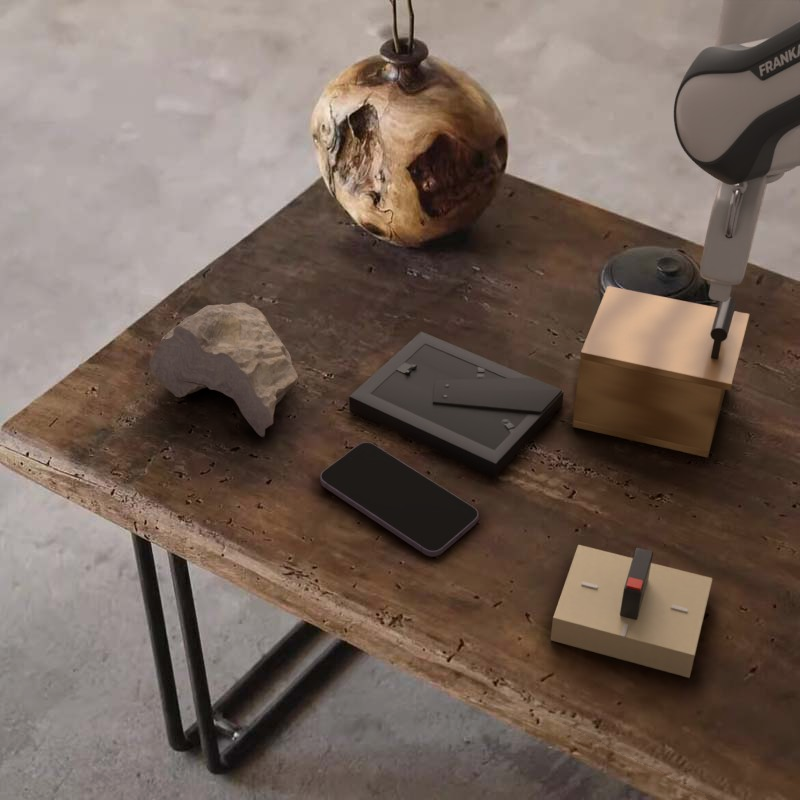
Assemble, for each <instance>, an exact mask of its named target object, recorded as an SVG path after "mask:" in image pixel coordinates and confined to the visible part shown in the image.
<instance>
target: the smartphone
mask: <svg viewBox="0 0 800 800" xmlns="http://www.w3.org/2000/svg"><path fill="white" fill-rule="evenodd" d="M319 479H320V480H319V481H320V485H321V486H322V487H323V488H324V489H326V490H327V491H329V492H331V493H332V494H333V495H335V496H337V497H338V498H339V499H340V500H343V501H344V502H345V503H347V504H348V505H350V506H351V507H353V508H355V509H356V510H358V511H359V512H360V513H362V514H363V515H365V516H367V517H368V518H370V519H371V520H373V521H374V522H376V523H377V524H378V525H380V526H382V527H383V528H384V529H386V530H387V531H389V532H390V533H392V534H394V535H395V536H397V538H400V539H401V540H403V541H404V542H406V543H407V544H408V545H410V546H412V547H413V548H414V549H416V550H418V551H419V552H420V553H422V554H423V555H425V556H427V557H433V558H434V557H439V556H440V555H442V554H443V553H444V552H446V551H447V549H449V548H450V547H451V546H452V545H454V544H455V543H456V542H457V541H459V540H460V538H462V536H464V535H465V534H466V533H467V532H469V531H470V530H471V529H472V528H473V527H474V526H475V525H476V524H477V523H478V522H479V510H477V508H476V507H474V506H473V505H471V504H469V503H468V502H467V501H465V500H463V499H462V498H460V497H459V496H457V495H455V494H454V493H452V492H451V491H449V490H448V489H446V488H444V487H443V486H441V485H440V484H438V483H436V482H434V481H433V480H431V479H430V478H429V477H427V476H425V475H424V474H422V473H421V472H419V471H417V470H416V469H414V468H413V467H411V466H409V465H408V464H406V463H404V462H403V461H401V460H400V459H398V458H397V457H395V456H394V455H392V454H390V453H389V452H388V451H385V450H384V449H383V448H381V447H379V446H378V445H376V444H375V443H372V442H370V441H369V442H367V441H363V442H361V443H359V444H357V445H356V446H354V447H353V448H351V450H349V451H348V452H346V453H345V454H344V455H342V456H341V457H340V458H339V459H337V460H336V461H334V462H333V463H331V464H330V465H329V466H328V467H326V468H324V470H323V471H321V473H320V476H319Z"/></svg>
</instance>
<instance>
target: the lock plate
mask: <svg viewBox="0 0 800 800" xmlns="http://www.w3.org/2000/svg"><path fill="white" fill-rule="evenodd" d="M632 560H633V557H629V556H625V555H621V554H617V553H613V552H611V551H605V550H601V549H597V548H593V547H590V546H585V545H581V544H578V545H577V547H576V550H575V553H574V555H573V558H572V562H571V564H570V567H569V571H568V573H567V576H566V579H565V582H564V585H563V587H562V590H561V594H560V597H559V599H558V603H557V604H556V608H555V611H554V614H553V616H552V622H551V623H552V625H551V632H550V641H552V642H556V643H559V644H562V645H565V646H566V645H567V646H570V647H574V648H576V649H577V648H578V649H582V650H585V651H589V652H593V653H596V654H600V655H602V656H607V657H610V658H615V659H618V660H622V661H625V662H629V663H633V664H636V665H639V666H644V667H647V668H651V669H655V670H659V671H661V672H666V673H670V674H672V675H673V674H674V675H677V676H681V677H685V678H688V679H690V677H691V673H692V670H693V666H694V662H695V661H694V660H695V656H696V652H697V649H698V648H697V647H698V644H699V639H700V635H701V631H702V626H703V622H704V618H705V613H706V609H707V605H708V601H709V597H710V592H711V588H712V583H713V578H712V577H709V576H705V575H702V574H697V573H693V572H689V571H685V570H681V569H678V568H673V567H669V566H666V565H662V564H657V563H653V562H651V567H650V573H649V578H648V582H647V586H646V589H645V593H644V597H643V600H642V604H641V607H640V611H639V615H638V618H637V620H634V619H630V618H626V617H622V616H620V610H621V604H622V598H623V592H624V587H625V583H626V580H627V577H628V573H629V570H630V566H631V563H632Z"/></svg>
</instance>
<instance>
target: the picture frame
mask: <svg viewBox="0 0 800 800" xmlns="http://www.w3.org/2000/svg"><path fill="white" fill-rule="evenodd" d="M564 393H565V390H563V389H561V388H559V387H556V386H554V385H552V384H549V383H546V382H545V381H542V380H540V379H537V378H535V377H532V376H528V375H526V374H524V373H522V372H519V371H516V370H515V369H512V368H509V367H507V366H505V365H502V364H500V363H498V362H495V361H492V360H491V359H488V358H485V357H483V356H481V355H478V354H477V353H473V352H471V351H470V350H466V349H464V348H463V347H459V346H457V345H455V344H452V343H450V342H447V341H445V340H442V339H440V338H438V337H435V336H433V335H430V334H428V333H427V332H423V331H420V332H419V333H418V334H417V335H416V336H414V337H413V338H412V339H411V340H410V341H409V342H408V343H406V344H405V345H404V346H403V347H402V348H401V349H400V350H399V351H398V352H396V353H395V354H394V355H393V356H392V357H391V358H390V359H389V360H388V361H387V362H385V363H384V364H383V365H382V366H381V367H380V368H379V369H378V370H377V371H375V372H374V373H373V374H372V375H371V376H370V377H369V378H368V379H366V380H365V381H364V382H363V383H362V384H361V385H360V386H358V388H357V389H355V390H354V391H353V392H352V393H351V394H350V395H349V396H348V399H349V400H348V402H349V403H348V404H349V411H350V412H352V413H355V414H357V415H359V416H361V417H364V418H365V419H367V420H370V421H372V422H374V423H376V424H379V425H381V426H383V427H384V428H387V429H389V430H390V431H394V433H395V432H396V433H397V434H400V435H402V436H403V437H404V436H405V437H406V438H408V439H411V440H413V441H415V442H417V443H419V444H421V445H423V446H426V447H428V448H430V449H432V450H435V451H436V452H438V453H440V454H442V455H444V456H446V457H449V458H451V459H453V460H455V461H458V462H460V463H462V464H464V465H466V466H469V467H471V468H472V469H475V470H477V471H480V472H481V473H482V474H483V473H484V474H486V475H488V476H490V477H492V478H494V479H495V478H496V477H498V475H499V474H500V473H501V472H502V471H503V470H504V469H505V468H506V467H507V466H508V464H509V463H510V462H511V461H512V460H513V459H514V458H515V457H516V456H517V455H518V454H519V453H520V451H522V449H523V448H524V447H525V446H526V445H527V444H528V443H529V442H530V441H531V440H532V439H533V437H534V436H535V435H537V434H538V432H539V431H540V430H541V429H542V428H543V427H544V426H545V424H546V423H547V422H549V420H550V419H551V418H552V417H553V416H554V415H555V414H556V413H557V412H558V411H559V410H560V409H561V407H562V406H563V402H564Z"/></svg>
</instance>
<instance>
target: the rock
mask: <svg viewBox="0 0 800 800" xmlns="http://www.w3.org/2000/svg"><path fill="white" fill-rule="evenodd" d="M148 365H149V368H150V375H151V376H153V377H155V378H156V379H157V380H158V381H159V382H161V383H162V385H163V386H164V388H165V389H166V390H168V391H169V392H170V393H171V394H173V395H174V396H175V397H177V398H183V397H186V396H188V395H190V394H191V395H192V394H193V393H195V392H198V391H200V390H202V389H207V388H208V389H209V390H212V391H213V390H214V391H217V392H219V393H223V395H225V396H227V397H229V398H231V399H232V400H233V401H234V402H235V404H236V405H237V407H238V408H239V411H240V413H241V415H242V416H243V417H244V419H245V420H246V421H247V423H248V424H249V425H250V427H251V428H252V429H253V430H254V431H255V433H256V434H257V435H258V436H260V437H262V438H265V436H266V429H268V428H269V427H270V426H272V425H273V424H274V421H275V420H274V415H275V411H276V410H275V409H276V405H277V404H278V403H279V402H280V401H281V400H282V399H283V398H284V397H285V395H286V394H287V393H288V392H289V391H290V390H291V389H292V388H293V386H295V384H296V382H297V380H298V379H299V376H298V374H297V371H296V369H295V366H294V365H293V362H292V357H291V354H290V352H289V351H288V349H287V347H286V346H285V345H284V344H283V342H282V340H281V338H280V337H279V336H278V335H277V333H276V332H275V331H274V329H273V328H272V327H271V324H270V323H269V321H268V318H267V317H266V316H265V315H264V314H263V312H262V311H261V310H260V309H258V308H257V307H254V306H251V305H250V304H248V303H246V302H233V303H230V304H222V303H220V304H207V305H205V306H204V307H202V308H200V309H199V310H198V311H197V312H195V313H194V314H192V315H191V314H190V315H189V316H186V317H184V318H183V320H182V321H180V323H178V324H177V325H175V326H174V327H173V328H172V329H170V331H168V332H167V333H166V334H165V335H164V336H163V337H162V338H161V340H160V342H159V344H158V346H157V348H156V350H155V351H154V353H153V355H152V356H151V358H150V359H149V363H148Z"/></svg>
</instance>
